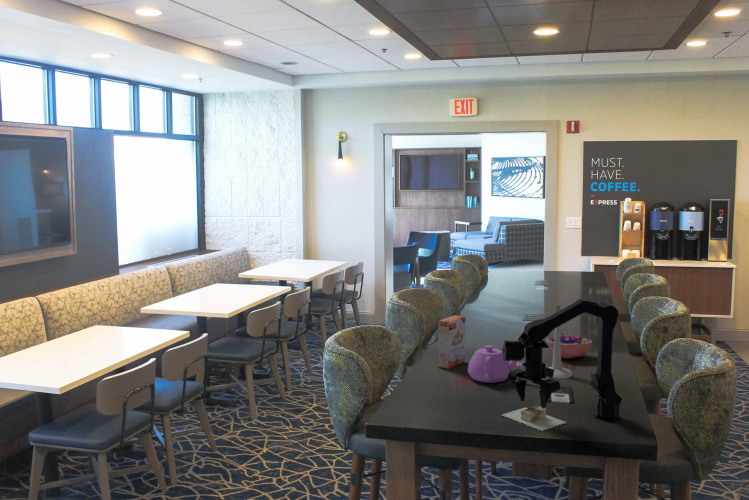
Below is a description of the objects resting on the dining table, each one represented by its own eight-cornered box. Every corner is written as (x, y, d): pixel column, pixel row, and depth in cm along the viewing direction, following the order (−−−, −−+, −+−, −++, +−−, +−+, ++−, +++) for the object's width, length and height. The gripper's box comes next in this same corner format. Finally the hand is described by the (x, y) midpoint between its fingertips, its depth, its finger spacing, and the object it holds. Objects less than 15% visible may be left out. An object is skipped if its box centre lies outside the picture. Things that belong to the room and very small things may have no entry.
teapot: (522, 388, 268) (522, 354, 266) (466, 386, 272) (466, 352, 271) (521, 372, 289) (522, 340, 288) (469, 370, 294) (469, 338, 292)
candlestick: (537, 376, 284) (538, 304, 280) (545, 368, 295) (546, 299, 291) (568, 380, 278) (570, 307, 274) (575, 372, 289) (577, 301, 285)
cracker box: (449, 369, 295) (449, 321, 292) (437, 367, 298) (437, 320, 296) (465, 362, 306) (466, 316, 303) (454, 360, 309) (454, 314, 307)
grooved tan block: (529, 422, 231) (530, 413, 231) (520, 419, 234) (521, 410, 234) (545, 417, 236) (546, 408, 235) (536, 414, 239) (536, 405, 239)
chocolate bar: (571, 386, 268) (573, 402, 251) (571, 389, 268) (573, 404, 251) (547, 385, 270) (547, 400, 253) (547, 387, 270) (547, 403, 253)
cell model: (596, 362, 302) (597, 337, 301) (551, 363, 302) (551, 338, 301) (585, 352, 319) (586, 328, 318) (542, 352, 319) (542, 329, 318)
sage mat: (566, 423, 231) (566, 422, 231) (541, 431, 224) (541, 430, 224) (525, 408, 246) (525, 407, 246) (501, 416, 239) (501, 414, 239)
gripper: (571, 362, 230) (570, 407, 232) (529, 350, 245) (528, 393, 247) (549, 368, 223) (548, 414, 225) (507, 355, 238) (506, 399, 240)
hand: (533, 404), depth 234 cm, fingers open, 9 cm apart
